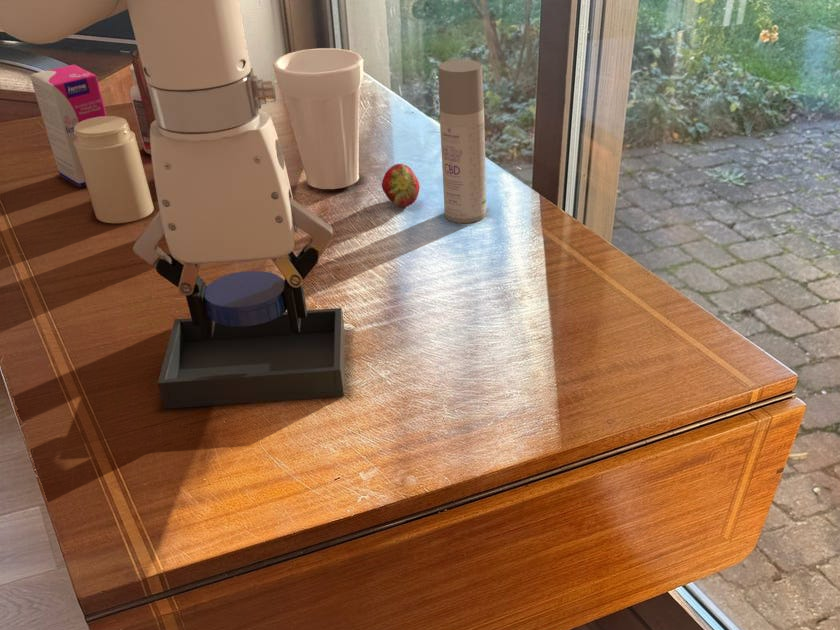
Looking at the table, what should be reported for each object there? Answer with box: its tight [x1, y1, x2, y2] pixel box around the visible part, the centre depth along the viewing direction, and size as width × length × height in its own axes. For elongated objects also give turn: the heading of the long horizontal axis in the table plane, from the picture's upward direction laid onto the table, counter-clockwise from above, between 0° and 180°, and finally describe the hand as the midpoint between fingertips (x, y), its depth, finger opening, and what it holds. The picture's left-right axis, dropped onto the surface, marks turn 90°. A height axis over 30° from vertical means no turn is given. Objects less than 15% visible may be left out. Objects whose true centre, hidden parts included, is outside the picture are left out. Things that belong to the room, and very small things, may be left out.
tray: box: [157, 307, 346, 410], centre depth 87 cm, size 15×11×2 cm
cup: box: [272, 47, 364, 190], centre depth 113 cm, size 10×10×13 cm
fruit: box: [381, 163, 421, 208], centre depth 111 cm, size 4×6×5 cm
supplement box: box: [29, 64, 107, 188], centre depth 117 cm, size 6×6×12 cm
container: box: [438, 58, 487, 224], centre depth 105 cm, size 5×5×15 cm
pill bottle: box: [129, 64, 151, 155], centre depth 124 cm, size 5×5×10 cm
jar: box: [74, 115, 155, 224], centre depth 110 cm, size 7×7×9 cm
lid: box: [204, 270, 287, 327], centre depth 83 cm, size 7×7×2 cm
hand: (252, 327), depth 85 cm, fingers closed on lid, 6 cm apart
